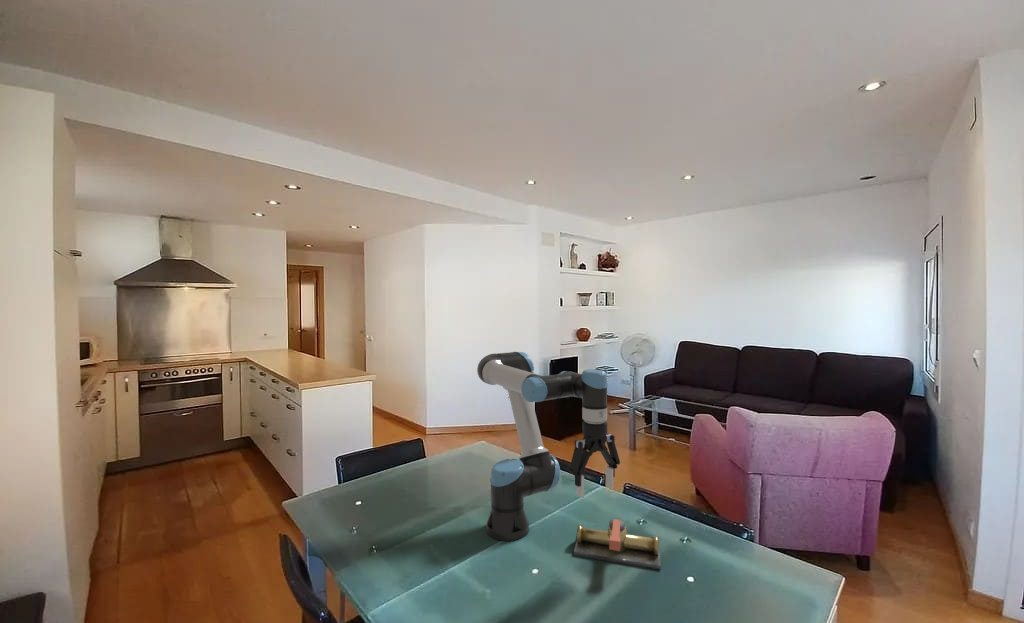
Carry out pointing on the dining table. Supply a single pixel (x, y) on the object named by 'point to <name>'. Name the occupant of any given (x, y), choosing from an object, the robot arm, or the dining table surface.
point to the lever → (615, 533)
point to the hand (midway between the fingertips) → (595, 491)
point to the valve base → (618, 555)
